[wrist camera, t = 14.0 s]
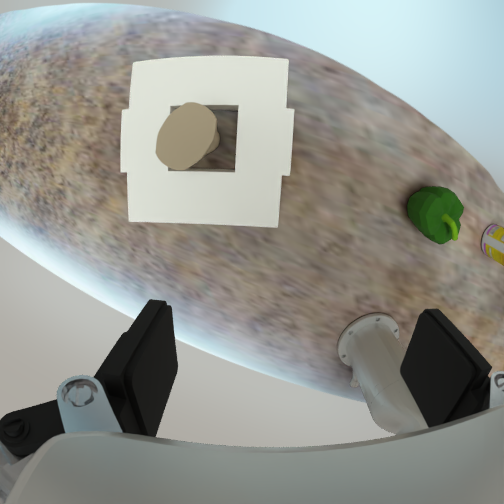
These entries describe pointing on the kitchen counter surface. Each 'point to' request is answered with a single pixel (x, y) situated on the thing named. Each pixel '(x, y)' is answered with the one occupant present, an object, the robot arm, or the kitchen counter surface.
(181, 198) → the socket block
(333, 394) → the kitchen counter surface
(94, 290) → the kitchen counter surface
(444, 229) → the bell pepper
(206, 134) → the handle
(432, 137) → the kitchen counter surface
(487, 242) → the supplement bottle
